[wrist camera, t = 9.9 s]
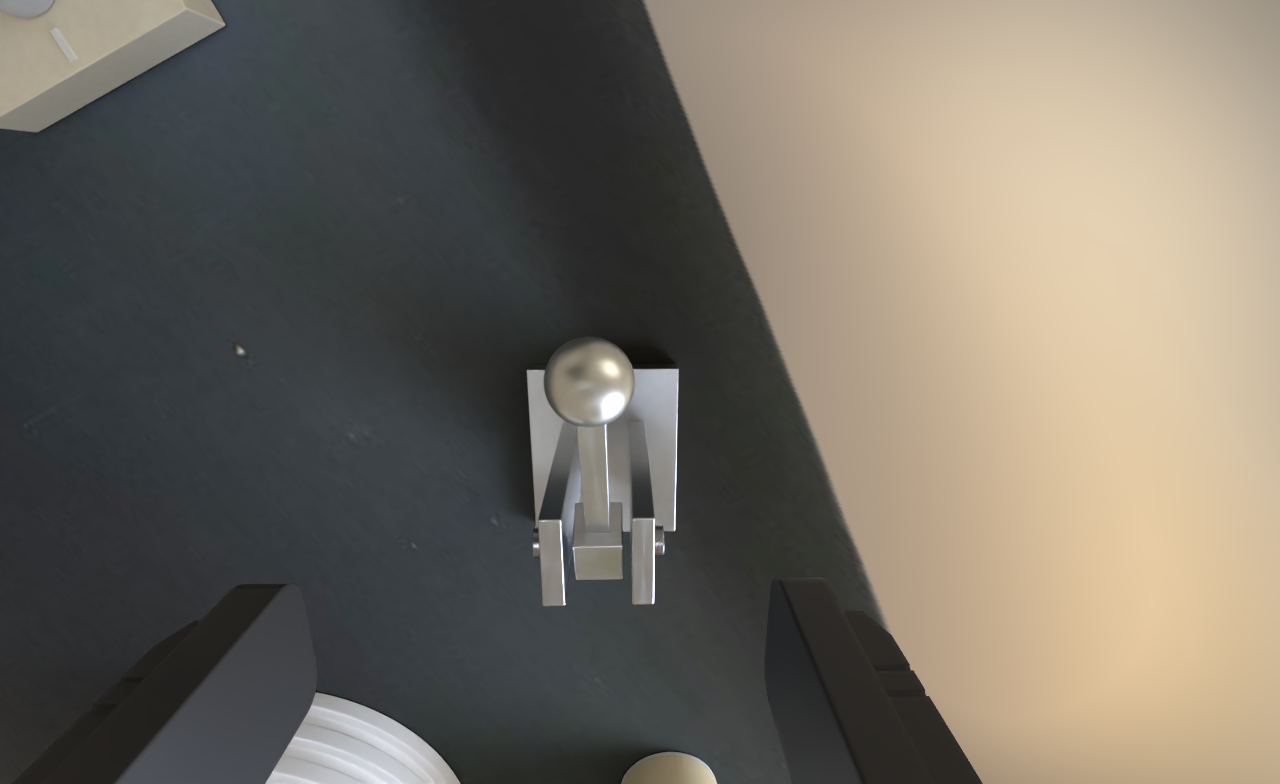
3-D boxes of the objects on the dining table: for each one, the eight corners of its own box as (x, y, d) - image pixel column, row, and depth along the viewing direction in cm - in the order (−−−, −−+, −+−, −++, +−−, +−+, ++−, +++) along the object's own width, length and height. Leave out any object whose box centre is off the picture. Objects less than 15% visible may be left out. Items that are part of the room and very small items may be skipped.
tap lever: (543, 318, 21) (534, 379, 19) (634, 318, 21) (636, 378, 19) (568, 529, 30) (564, 588, 28) (632, 528, 30) (633, 587, 28)
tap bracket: (529, 364, 37) (483, 449, 25) (676, 363, 37) (704, 446, 25) (538, 523, 40) (503, 667, 28) (673, 521, 40) (696, 663, 28)
